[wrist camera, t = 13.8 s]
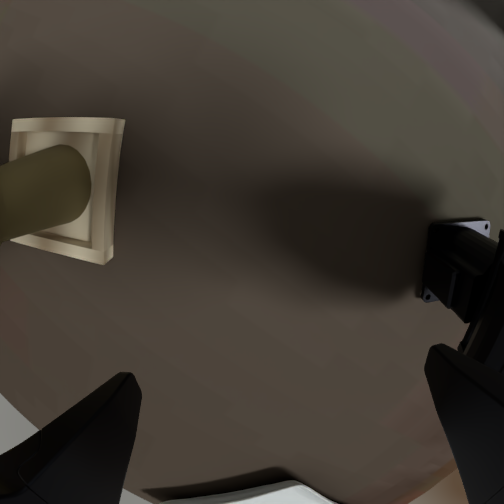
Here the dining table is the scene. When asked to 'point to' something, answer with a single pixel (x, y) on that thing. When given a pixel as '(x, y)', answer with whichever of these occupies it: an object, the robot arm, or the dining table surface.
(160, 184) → the dining table surface
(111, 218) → the holder
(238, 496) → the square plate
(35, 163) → the olive green cylinder
